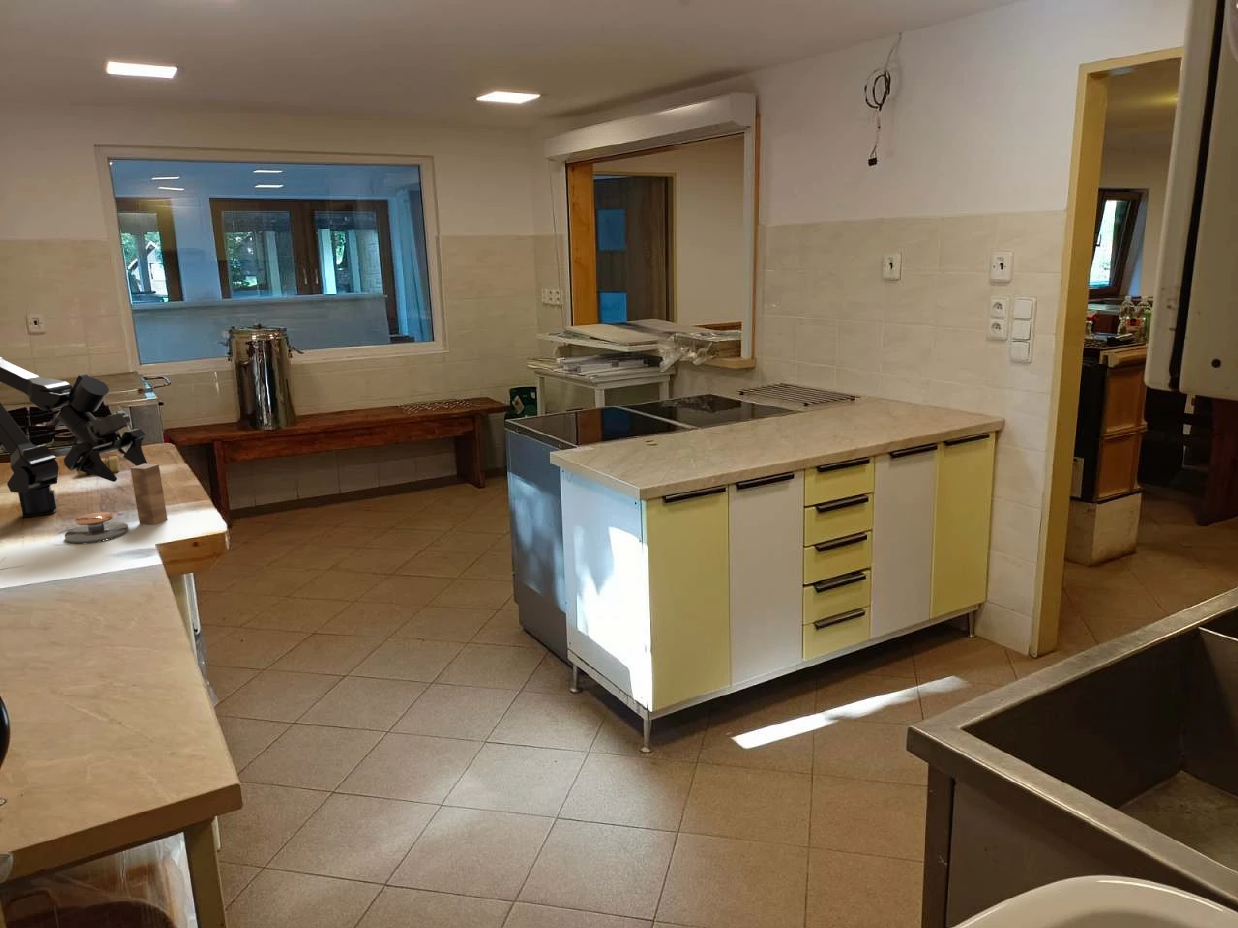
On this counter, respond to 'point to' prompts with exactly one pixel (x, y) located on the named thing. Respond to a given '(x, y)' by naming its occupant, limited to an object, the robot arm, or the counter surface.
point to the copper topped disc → (95, 528)
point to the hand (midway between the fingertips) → (132, 475)
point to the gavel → (107, 464)
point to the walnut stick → (149, 493)
